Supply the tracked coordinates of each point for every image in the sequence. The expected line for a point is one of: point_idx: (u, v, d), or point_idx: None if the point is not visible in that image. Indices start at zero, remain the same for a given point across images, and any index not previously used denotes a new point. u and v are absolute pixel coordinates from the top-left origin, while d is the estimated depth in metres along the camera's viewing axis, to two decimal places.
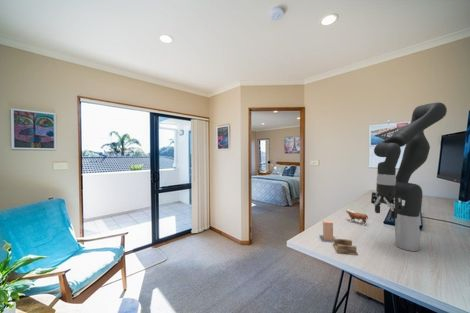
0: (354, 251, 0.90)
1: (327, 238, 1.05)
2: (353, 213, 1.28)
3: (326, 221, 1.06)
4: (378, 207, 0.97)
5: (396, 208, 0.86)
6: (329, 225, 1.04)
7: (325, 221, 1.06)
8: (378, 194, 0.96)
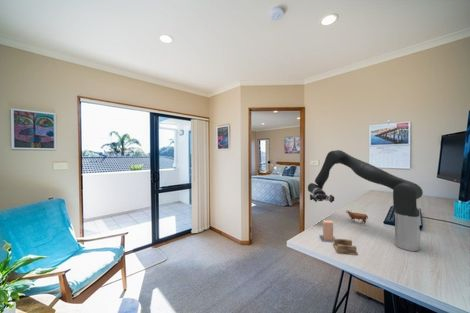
0: (354, 251, 0.90)
1: (327, 238, 1.05)
2: (353, 213, 1.28)
3: (326, 221, 1.06)
4: (329, 199, 1.17)
5: None
6: (329, 225, 1.04)
7: (325, 221, 1.06)
8: None
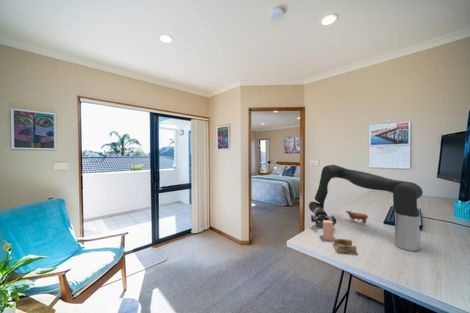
0: (354, 251, 0.90)
1: (327, 238, 1.05)
2: (353, 213, 1.28)
3: (326, 221, 1.06)
4: None
5: None
6: (329, 225, 1.04)
7: (325, 221, 1.06)
8: None
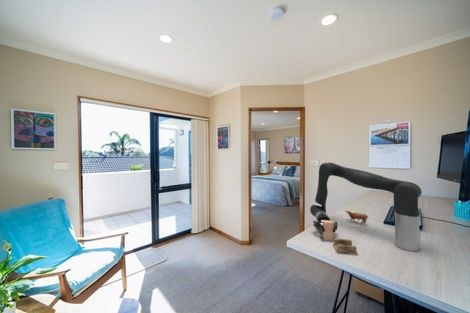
0: (354, 251, 0.90)
1: (327, 238, 1.05)
2: (353, 213, 1.28)
3: (326, 221, 1.06)
4: None
5: None
6: (329, 225, 1.04)
7: (325, 221, 1.06)
8: None
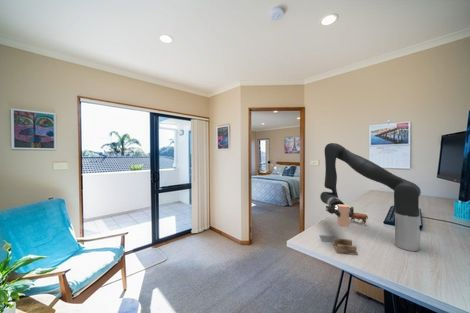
0: (354, 251, 0.90)
1: (342, 224, 0.93)
2: None
3: (341, 205, 0.95)
4: None
5: None
6: (345, 209, 0.93)
7: (340, 205, 0.95)
8: None
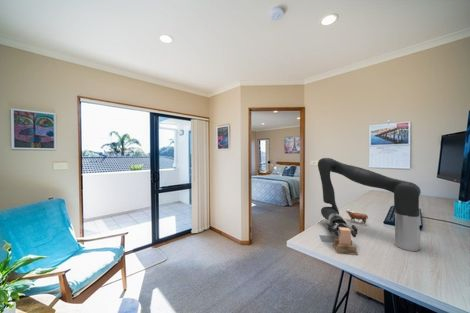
0: (354, 251, 0.90)
1: None
2: (353, 213, 1.28)
3: (343, 228, 0.94)
4: (351, 232, 0.94)
5: None
6: (347, 233, 0.92)
7: (341, 228, 0.94)
8: None
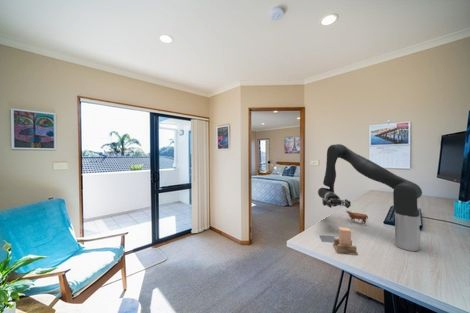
0: (354, 251, 0.90)
1: None
2: (353, 213, 1.28)
3: (343, 228, 0.94)
4: (345, 204, 1.05)
5: None
6: (347, 233, 0.92)
7: (341, 228, 0.94)
8: None
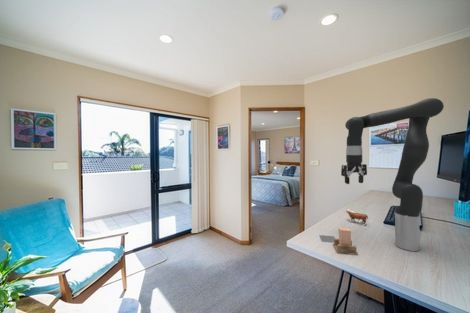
0: (354, 251, 0.90)
1: None
2: (353, 213, 1.28)
3: (343, 228, 0.94)
4: (360, 177, 1.04)
5: None
6: (347, 233, 0.92)
7: (341, 228, 0.94)
8: None
